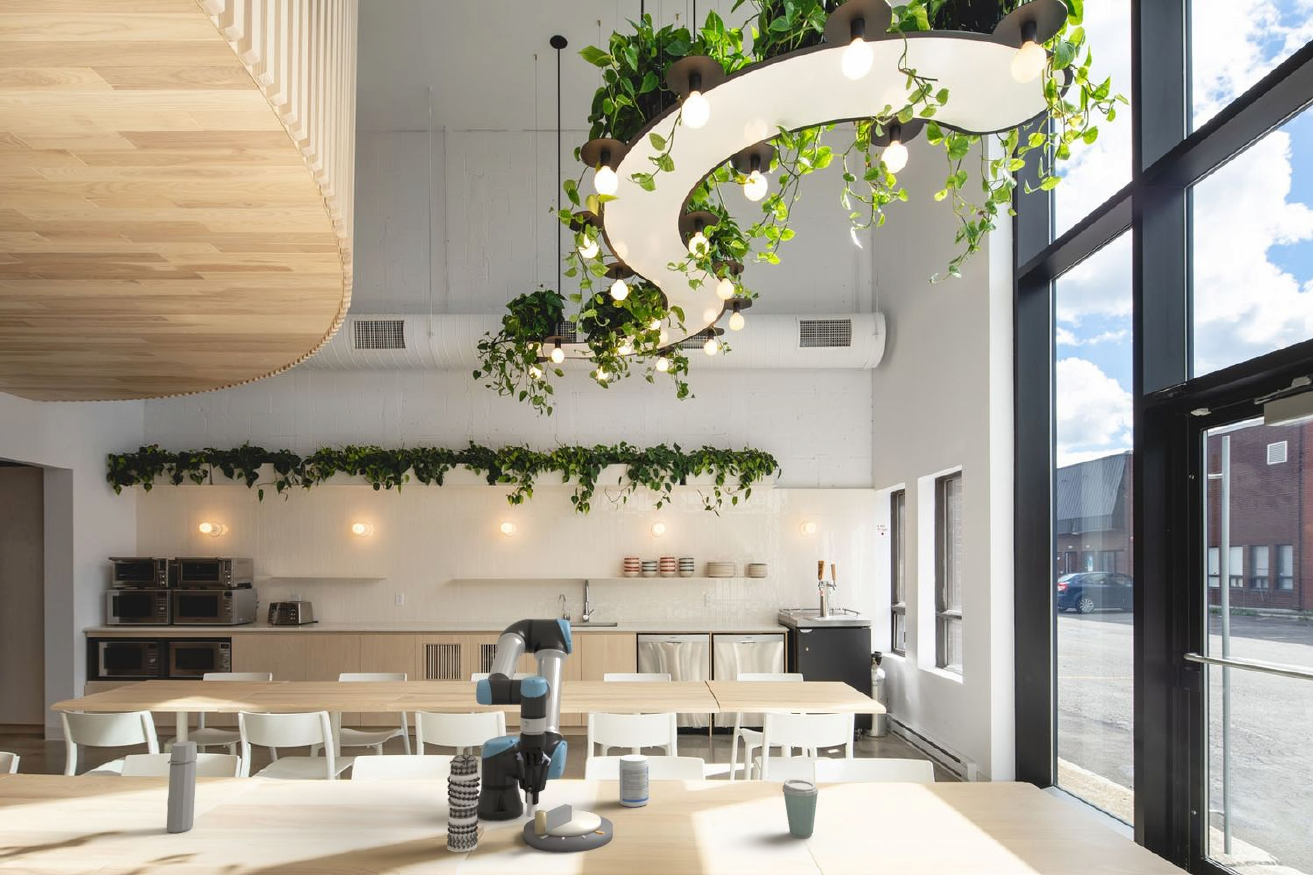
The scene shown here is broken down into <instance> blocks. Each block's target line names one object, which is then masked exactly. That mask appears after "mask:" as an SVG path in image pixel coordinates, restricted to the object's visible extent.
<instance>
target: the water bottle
mask: <svg viewBox="0 0 1313 875" xmlns="http://www.w3.org/2000/svg"><path fill="white" fill-rule="evenodd" d="M197 746H198V745H197V741H194V740H193V741H191V740H188V741H179V742H175V743H173V744H172V747H171V751H170V752H171V754H170V760H169V761H167V764H169V776H168V777H169V779H168V795H167V815H166V831H167V832H169V833H171V834H173V833H175V834H178V833H184V832H187V831H189V830H191V829H192V828H193V826H194V816H195V814H194V813H195V800H196V799H195V797H196V776H197V759H198V749H197V748H198V747H197Z"/></svg>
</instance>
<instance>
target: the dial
mask: <svg viewBox="0 0 1313 875" xmlns="http://www.w3.org/2000/svg"><path fill="white" fill-rule="evenodd" d="M599 816H600V815H598V814H596V813H593V812H589V811H586V810H584V811H583V810H573V805H571V804H567V803H564V804H562V805H560V806H557V807H555V808H552V809H550V810H547V811H546V810H543V809H542V810H541V809H539V810H538V809H537V811H535V816H534V819H535V834H548V835H553V836H578V835H584V834H588V833H592V832H594V831H596V830H598V829H599V828H600V826H601V818H600V817H599Z"/></svg>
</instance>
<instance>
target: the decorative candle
mask: <svg viewBox="0 0 1313 875" xmlns="http://www.w3.org/2000/svg"><path fill="white" fill-rule="evenodd" d="M478 763H479V759H476V757H475V755H473V754H470V753H469V754H468V753H465V754H464V753H463V754H457V755H455V756H454V757H453V759H452V760H450V761H449V764H450V773H449V775H448V777H447V780H446V781H447V782H448V784H447V789H448V790H447V795H448V796H449V797H448V798H447V801H448V804H447V806H448V807H449V814H448V822H447V832H448V834H446V837H447V841H446V843H447V846H446V849H447V850H448V851H449V850H451V851H460V852H459V853H464V852H463V851H468V852H470V851H469V850H472V851H475V850H476V849H477V848H478V842H479V840H478V837H479V836H478V835H479V833H478V829H479V826H478V823H479V820H478V817H477V812H476V811H477V805H478V799H479V795H478V794H480V790H479V789H478V787H481V783H480V782H479V781H481V777H479V771H478ZM451 851H450V852H451Z"/></svg>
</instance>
